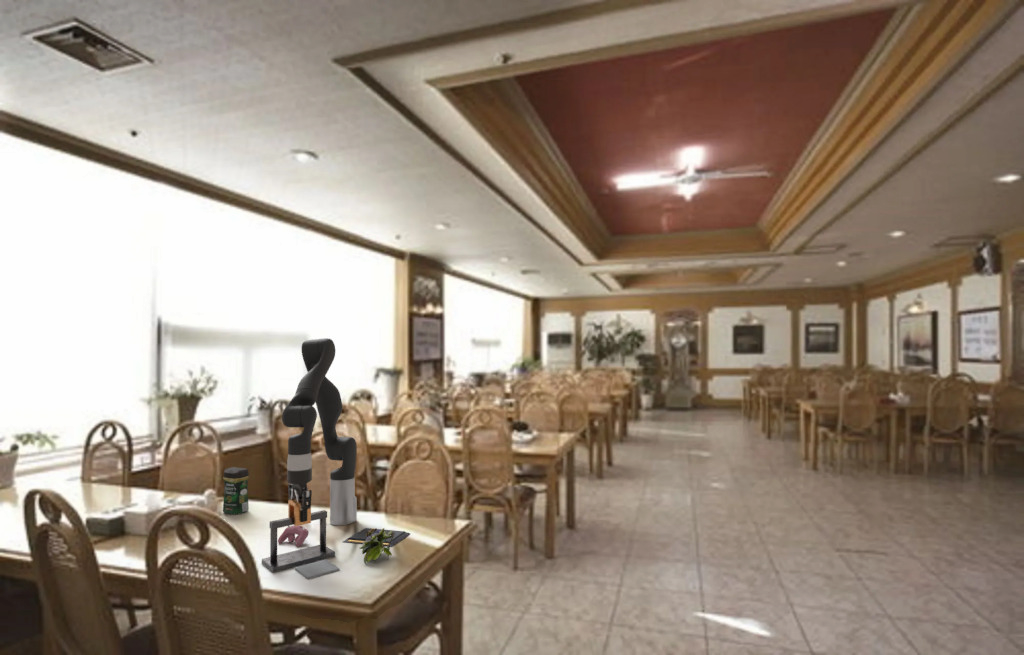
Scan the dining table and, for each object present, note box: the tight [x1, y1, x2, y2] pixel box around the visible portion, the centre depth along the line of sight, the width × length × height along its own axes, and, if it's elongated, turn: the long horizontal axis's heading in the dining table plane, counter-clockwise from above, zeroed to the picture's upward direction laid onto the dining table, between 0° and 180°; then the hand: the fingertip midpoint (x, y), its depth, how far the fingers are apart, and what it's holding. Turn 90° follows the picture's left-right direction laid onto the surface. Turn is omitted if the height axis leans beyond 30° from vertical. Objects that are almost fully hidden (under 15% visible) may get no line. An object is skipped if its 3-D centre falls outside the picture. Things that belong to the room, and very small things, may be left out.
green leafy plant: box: [359, 527, 394, 565], centre depth 185 cm, size 11×11×12 cm
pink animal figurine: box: [277, 525, 309, 548], centre depth 200 cm, size 10×5×7 cm, turn 66°
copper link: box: [287, 499, 312, 526], centre depth 185 cm, size 6×5×7 cm
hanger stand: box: [261, 509, 336, 574], centre depth 184 cm, size 10×20×14 cm, turn 132°
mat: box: [294, 559, 340, 580], centre depth 176 cm, size 10×10×1 cm
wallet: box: [342, 527, 411, 548], centre depth 205 cm, size 20×2×15 cm
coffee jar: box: [222, 466, 250, 515], centre depth 238 cm, size 10×8×19 cm
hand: (299, 519), depth 185 cm, fingers closed on copper link, 6 cm apart
